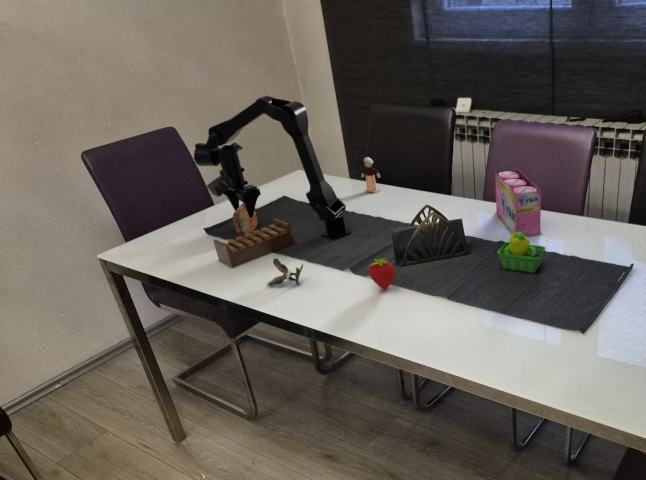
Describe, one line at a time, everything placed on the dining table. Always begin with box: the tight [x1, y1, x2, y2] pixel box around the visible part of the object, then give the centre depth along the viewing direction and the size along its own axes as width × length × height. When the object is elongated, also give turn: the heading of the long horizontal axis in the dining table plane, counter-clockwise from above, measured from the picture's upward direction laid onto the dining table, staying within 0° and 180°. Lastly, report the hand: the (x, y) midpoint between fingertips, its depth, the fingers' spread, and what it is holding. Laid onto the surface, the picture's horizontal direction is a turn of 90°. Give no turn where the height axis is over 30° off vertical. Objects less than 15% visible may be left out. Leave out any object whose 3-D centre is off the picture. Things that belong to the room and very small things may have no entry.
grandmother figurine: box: [360, 156, 381, 194], centre depth 219 cm, size 8×4×13 cm, turn 81°
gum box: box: [494, 168, 542, 237], centre depth 184 cm, size 24×8×14 cm, turn 13°
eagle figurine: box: [268, 258, 304, 287], centre depth 161 cm, size 8×7×9 cm
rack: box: [212, 218, 295, 269], centre depth 180 cm, size 8×21×6 cm, turn 135°
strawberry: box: [368, 257, 396, 291], centre depth 152 cm, size 6×8×10 cm
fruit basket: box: [496, 232, 547, 274], centre depth 157 cm, size 11×9×11 cm
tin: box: [232, 202, 259, 237], centre depth 194 cm, size 15×3×8 cm, turn 179°
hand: (244, 214), depth 193 cm, fingers open, 9 cm apart
